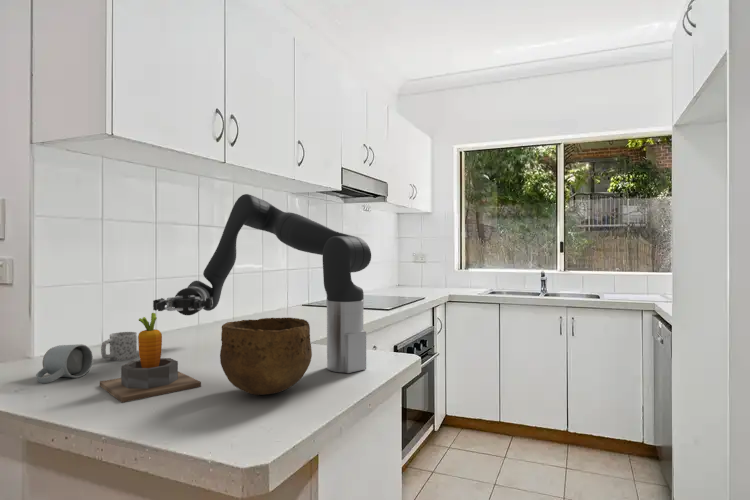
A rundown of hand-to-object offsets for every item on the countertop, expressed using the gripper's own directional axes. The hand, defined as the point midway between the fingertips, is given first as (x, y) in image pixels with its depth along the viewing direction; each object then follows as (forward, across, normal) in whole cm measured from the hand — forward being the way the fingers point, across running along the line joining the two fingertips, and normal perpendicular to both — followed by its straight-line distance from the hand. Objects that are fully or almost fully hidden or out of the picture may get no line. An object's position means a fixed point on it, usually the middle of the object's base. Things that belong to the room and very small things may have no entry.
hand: (177, 306), depth 121 cm
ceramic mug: (+2, -25, +16) cm, 30 cm away
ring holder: (+14, -3, +16) cm, 21 cm away
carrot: (+14, -3, +15) cm, 21 cm away
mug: (-16, -20, +16) cm, 30 cm away
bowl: (+23, +23, +17) cm, 36 cm away
